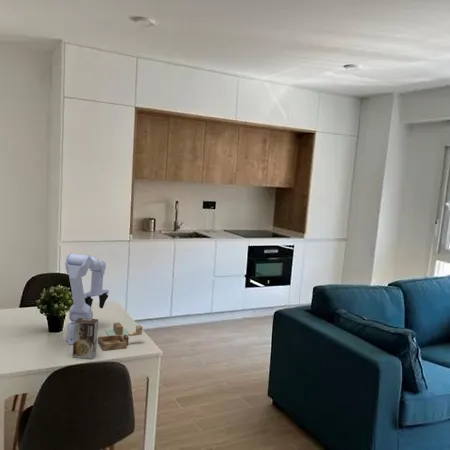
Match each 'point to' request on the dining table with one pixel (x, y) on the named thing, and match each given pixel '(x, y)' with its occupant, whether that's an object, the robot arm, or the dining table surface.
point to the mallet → (138, 331)
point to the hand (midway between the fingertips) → (95, 309)
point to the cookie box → (85, 338)
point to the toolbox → (113, 342)
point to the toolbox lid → (117, 330)
